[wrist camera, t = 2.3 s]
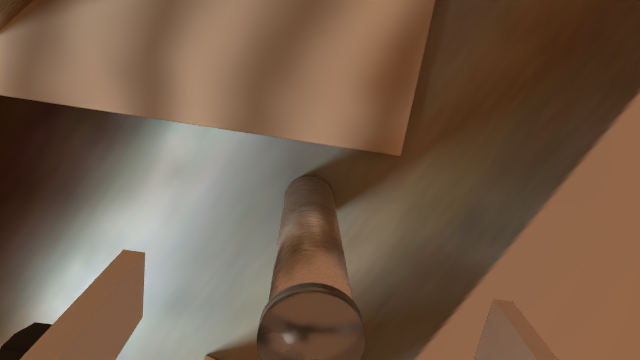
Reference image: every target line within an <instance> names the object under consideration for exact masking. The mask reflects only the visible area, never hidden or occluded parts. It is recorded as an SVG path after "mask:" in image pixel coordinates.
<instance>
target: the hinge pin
mask: <svg viewBox="0 0 640 360" xmlns="http://www.w3.org/2000/svg"><path fill="white" fill-rule="evenodd" d="M364 349H365V333H364V328H363V323H362V318H361V314H360V311H359V309H358V307H357V305H356V304H355V303H354V301H353V300H352V295H351V290H350V284H349V279H348V273H347V268H346V262H345V257H344V252H343V246H342V241H341V235H340V230H339V224H338V219H337V213H336V208H335V202H334V197H333V192H332V190H331V188H330V186H329V185H328V184H327V182H325V181H324V180H323V179H321V178H319V177H316V176H302V177H299V178H297V179H295V180H294V181H293V182H292V183H291V184H290V185H289V186H288V188H287V190H286V192H285V197H284V204H283V210H282V217H281V223H280V230H279V237H278V243H277V250H276V256H275V263H274V269H273V276H272V282H271V289H270V296H269V302H268V303H267V305H266V306H265V308H264V310H263V312H262V315H261V318H260V323H259V328H258V334H257V350H258V354H259V357H260V359H261V360H361V358H362V355H363V352H364Z"/></svg>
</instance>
